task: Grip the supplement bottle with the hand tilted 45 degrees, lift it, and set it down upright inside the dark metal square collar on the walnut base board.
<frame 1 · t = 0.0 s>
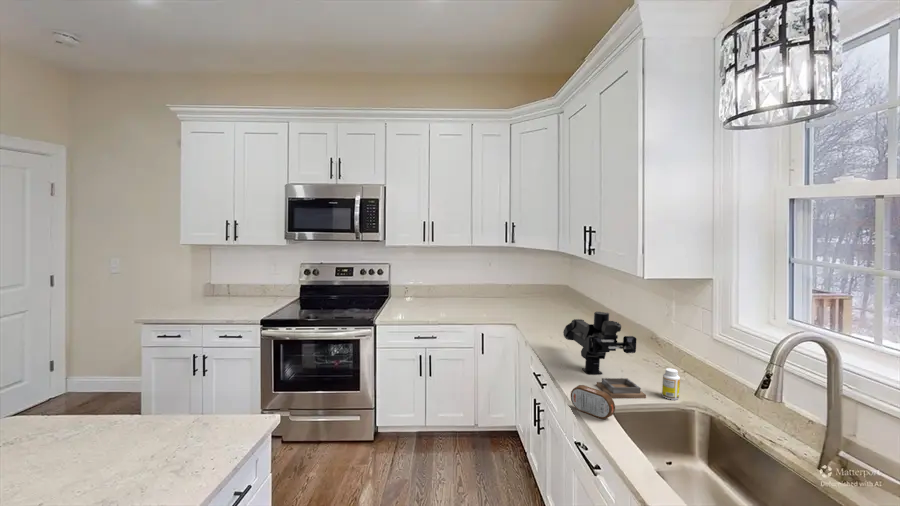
hand: (621, 350, 161), 17 cm above the counter, tool horizontal, fingers open, 9 cm apart
collar base: (620, 391, 166), on the counter
supplement bottle: (670, 398, 161), on the counter
tin: (591, 414, 145), on the counter
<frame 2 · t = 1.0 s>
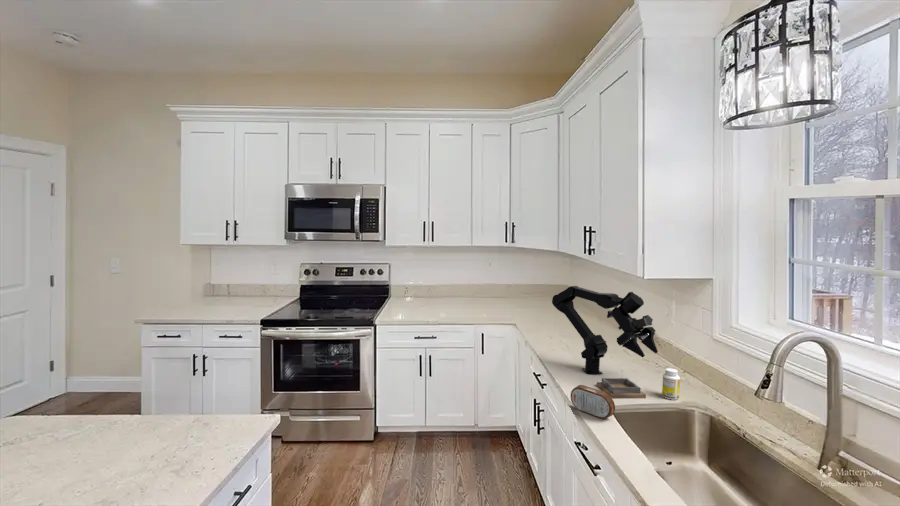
hand: (650, 354, 167), 14 cm above the counter, tool tilted 45°, fingers open, 9 cm apart
nothing on the counter moved.
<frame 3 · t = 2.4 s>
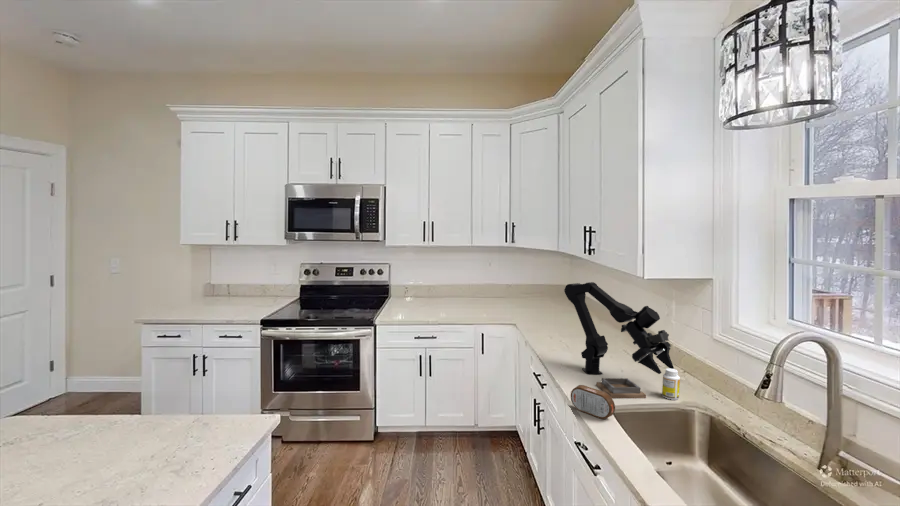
hand: (666, 371, 162), 9 cm above the counter, tool tilted 45°, fingers open, 9 cm apart
nothing on the counter moved.
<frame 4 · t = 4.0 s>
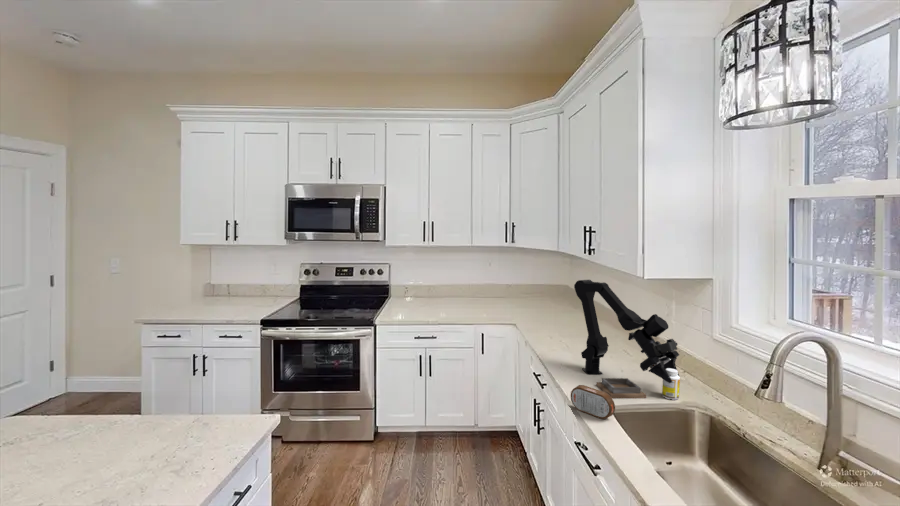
hand: (675, 380, 160), 7 cm above the counter, tool tilted 45°, fingers closed on supplement bottle, 6 cm apart
supplement bottle: (670, 398, 161), on the counter, touching gripper
everything else where it was.
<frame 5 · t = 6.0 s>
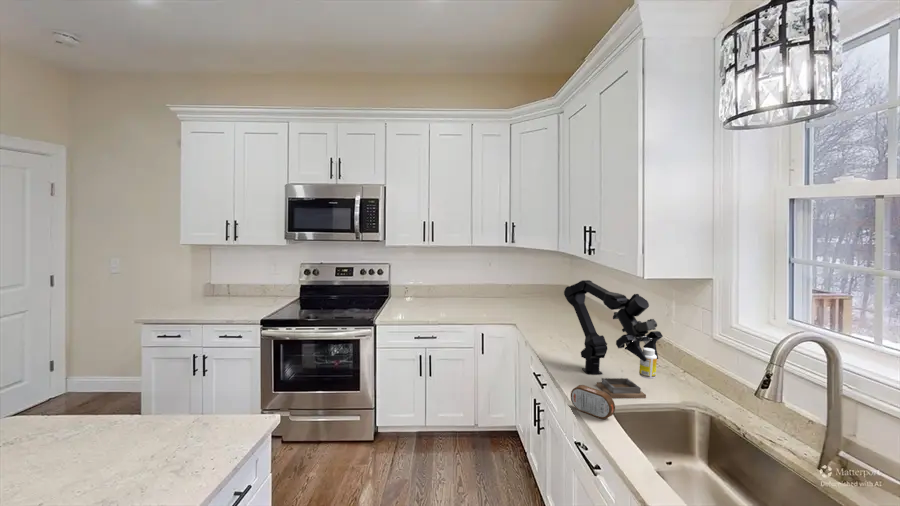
hand: (651, 360, 160), 14 cm above the counter, tool tilted 45°, fingers closed on supplement bottle, 6 cm apart
supplement bottle: (647, 377, 162), point 7 cm above the counter, touching gripper
everything else where it was.
when the fingers open (8 cm above the counter, at t = 8.4 s): supplement bottle stays where it is, resting on collar base.
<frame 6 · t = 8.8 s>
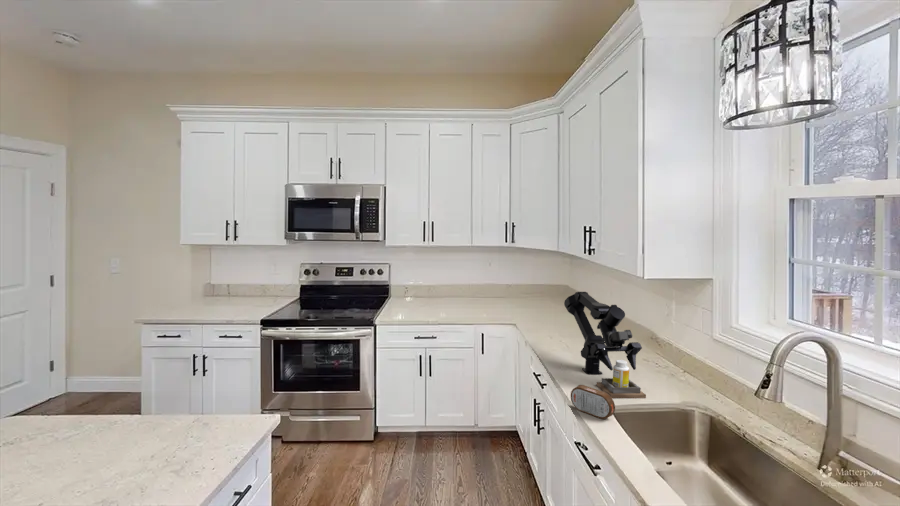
hand: (623, 369, 164), 9 cm above the counter, tool tilted 45°, fingers open, 9 cm apart
supplement bottle: (620, 388, 166), point 1 cm above the counter, touching collar base
everything else where it was.
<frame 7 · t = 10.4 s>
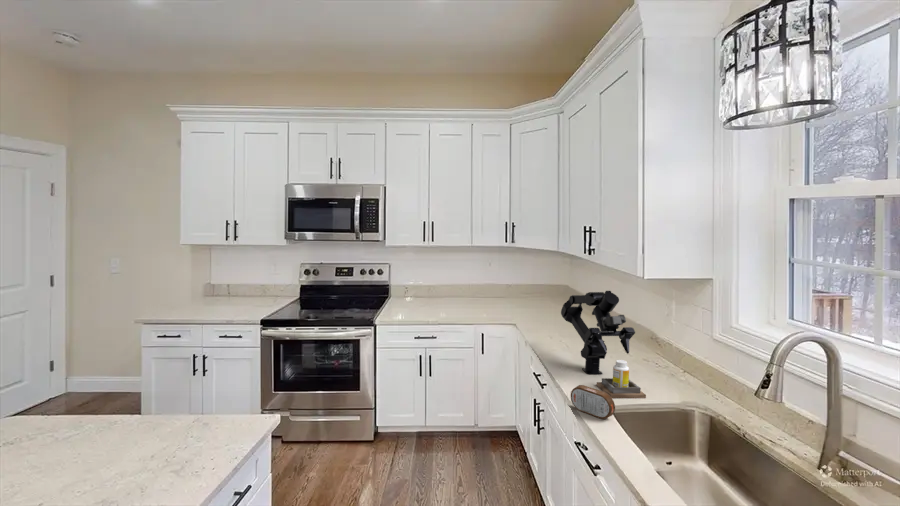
hand: (617, 353, 169), 14 cm above the counter, tool tilted 45°, fingers open, 9 cm apart
nothing on the counter moved.
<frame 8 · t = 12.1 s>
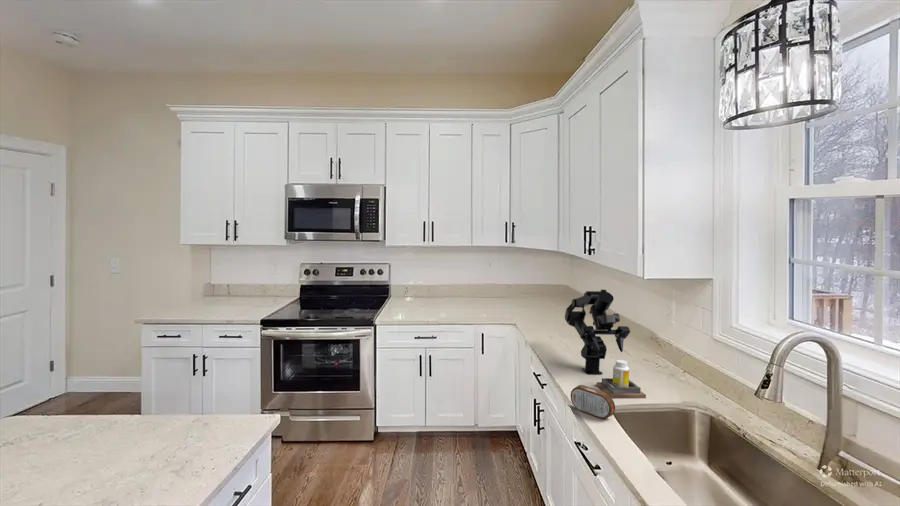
hand: (610, 351, 171), 14 cm above the counter, tool tilted 45°, fingers open, 9 cm apart
nothing on the counter moved.
at the end: supplement bottle 0.2 cm off-centre on the collar base, point 1.0 cm above the collar base's base; supplement bottle tilted 0°; the gripper is holding nothing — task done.
